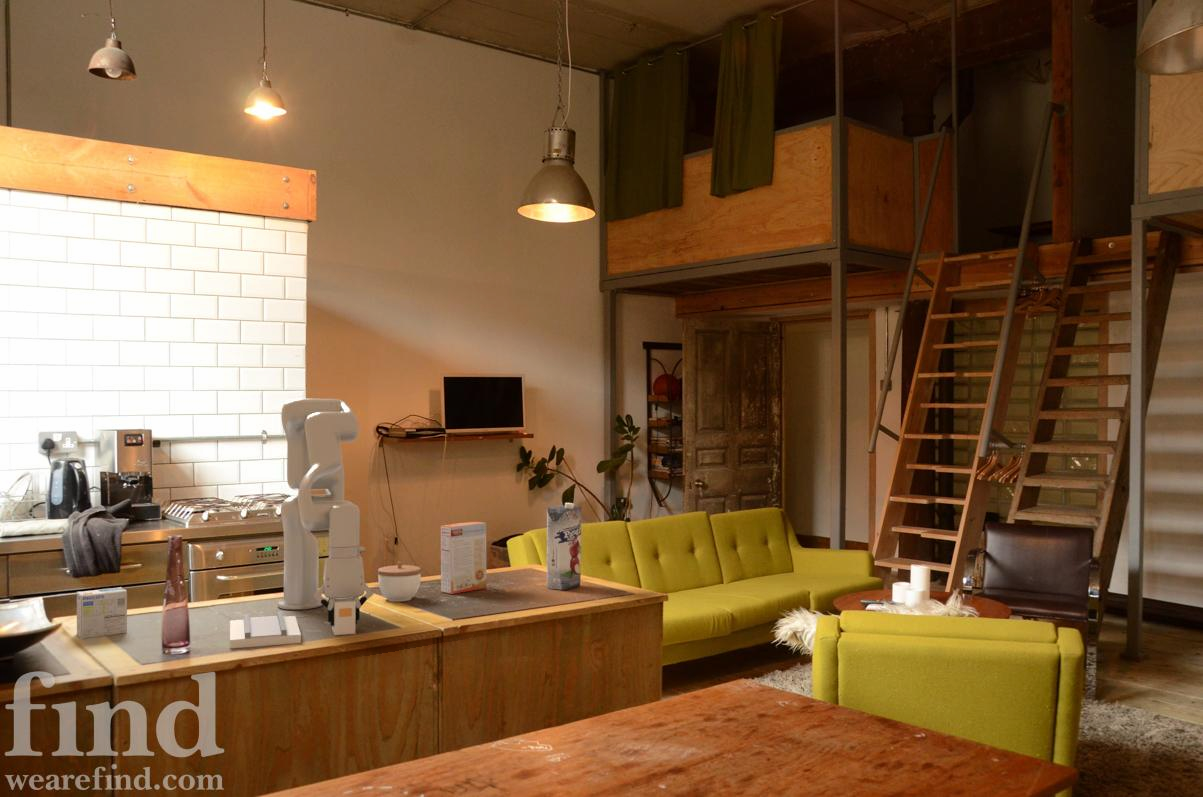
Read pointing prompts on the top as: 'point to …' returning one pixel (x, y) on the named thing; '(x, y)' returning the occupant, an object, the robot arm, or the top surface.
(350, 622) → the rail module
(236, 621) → the rail board
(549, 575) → the juice carton
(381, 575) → the lidded bowl
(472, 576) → the cracker box
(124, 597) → the light bulb box
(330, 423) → the robot arm
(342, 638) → the top surface
